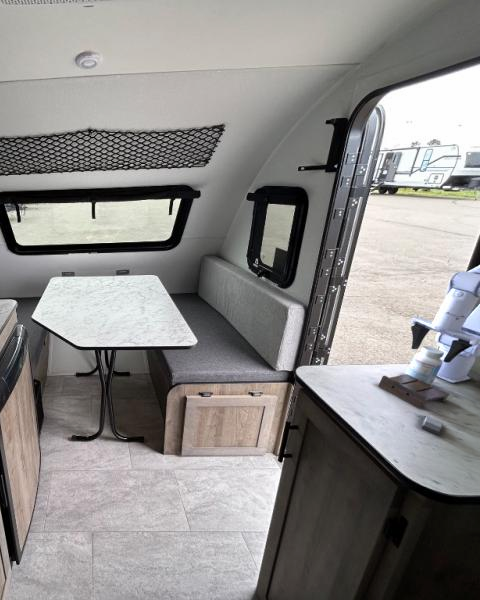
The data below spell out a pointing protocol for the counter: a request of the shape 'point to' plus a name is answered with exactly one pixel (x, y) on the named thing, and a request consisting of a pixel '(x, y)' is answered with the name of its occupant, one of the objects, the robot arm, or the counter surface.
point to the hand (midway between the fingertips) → (429, 355)
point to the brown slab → (412, 389)
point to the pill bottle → (426, 364)
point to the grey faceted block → (431, 425)
